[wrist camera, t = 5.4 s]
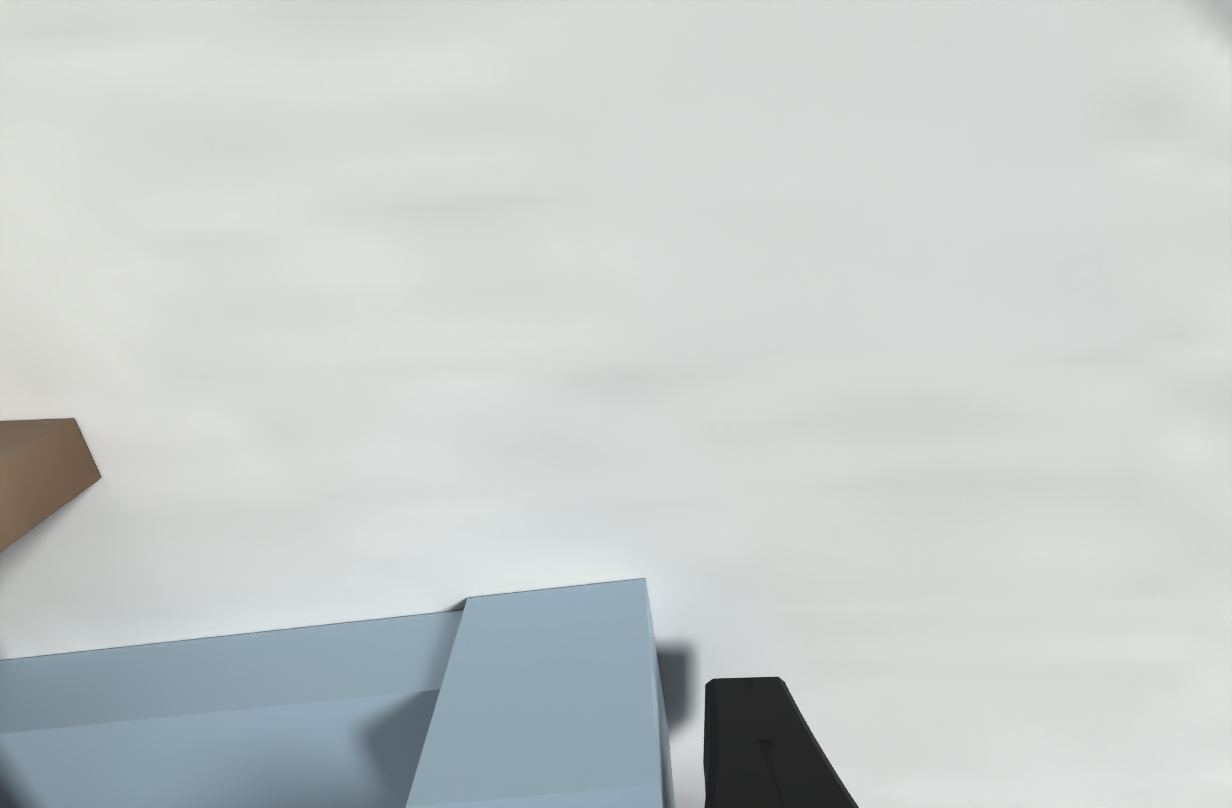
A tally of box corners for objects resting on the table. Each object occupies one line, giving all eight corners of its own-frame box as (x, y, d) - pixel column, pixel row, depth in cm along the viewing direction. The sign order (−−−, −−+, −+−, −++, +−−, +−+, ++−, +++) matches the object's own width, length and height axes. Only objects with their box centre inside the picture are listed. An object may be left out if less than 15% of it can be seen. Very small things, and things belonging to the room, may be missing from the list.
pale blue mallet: (667, 723, 12) (686, 946, 9) (-96, 796, 13) (-324, 1022, 10) (645, 578, 11) (657, 784, 7) (-216, 673, 11) (-532, 892, 8)
